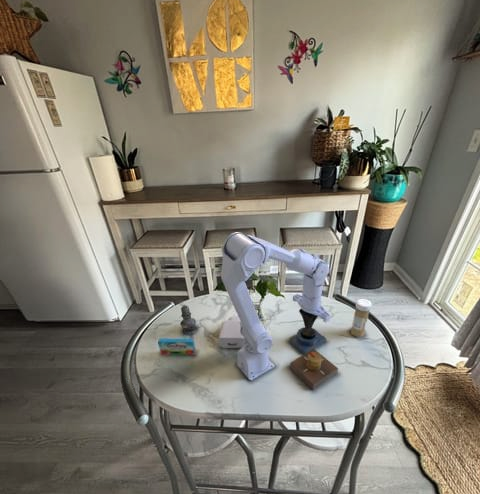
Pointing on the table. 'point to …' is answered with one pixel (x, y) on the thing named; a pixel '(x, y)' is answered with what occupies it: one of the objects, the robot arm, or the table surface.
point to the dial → (314, 361)
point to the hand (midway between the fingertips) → (308, 327)
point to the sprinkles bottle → (360, 317)
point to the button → (308, 333)
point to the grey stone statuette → (187, 321)
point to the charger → (231, 334)
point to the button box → (306, 341)
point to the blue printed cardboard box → (177, 346)
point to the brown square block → (313, 376)
